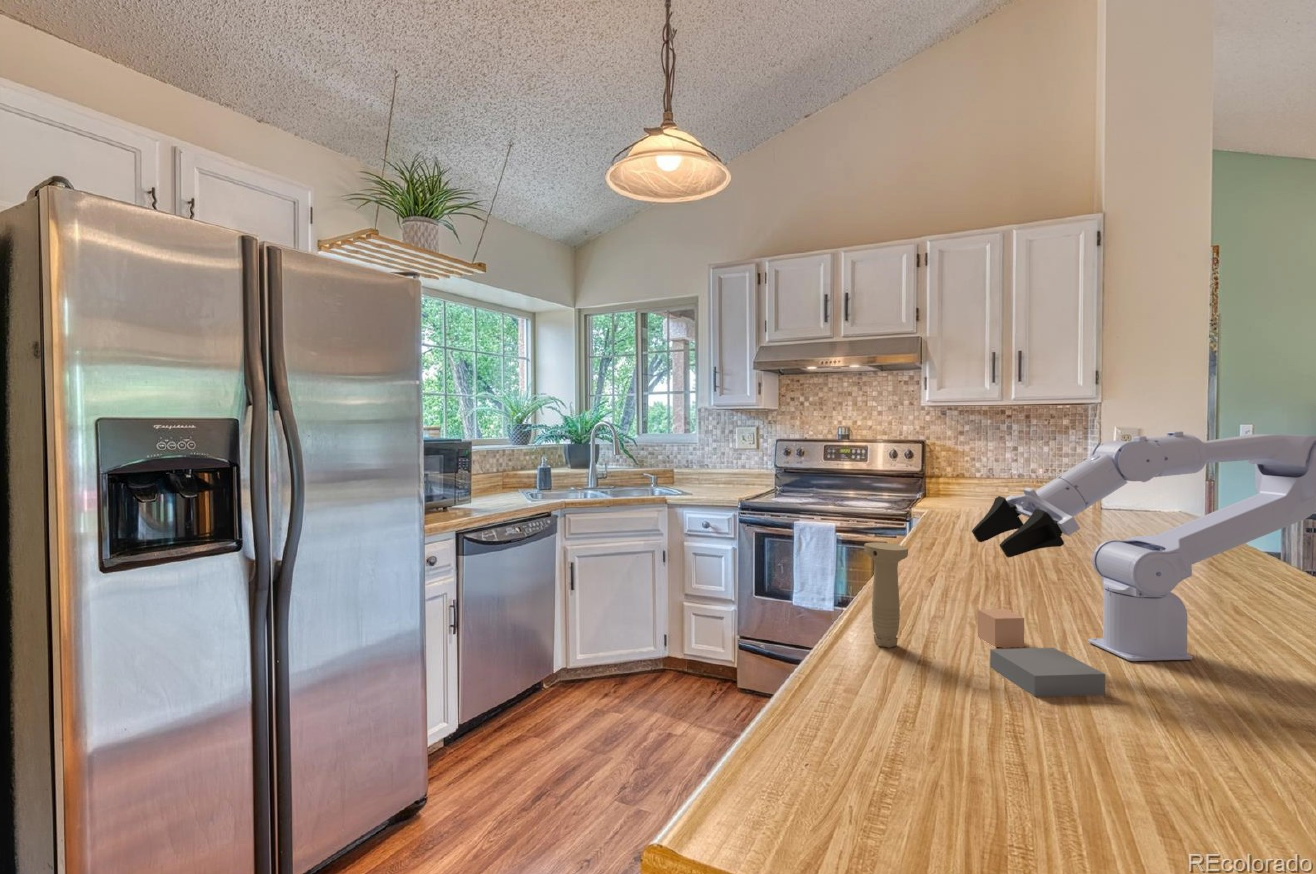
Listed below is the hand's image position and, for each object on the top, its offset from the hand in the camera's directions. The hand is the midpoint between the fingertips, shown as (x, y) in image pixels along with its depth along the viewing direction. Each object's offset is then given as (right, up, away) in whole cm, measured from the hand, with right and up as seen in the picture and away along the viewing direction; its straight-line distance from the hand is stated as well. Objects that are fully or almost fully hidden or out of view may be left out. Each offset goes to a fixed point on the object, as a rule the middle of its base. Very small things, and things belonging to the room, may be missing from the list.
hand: (989, 543), depth 90 cm
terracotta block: (+3, -16, +3) cm, 16 cm away
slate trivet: (+1, -16, -11) cm, 20 cm away
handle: (-15, -16, +2) cm, 22 cm away
